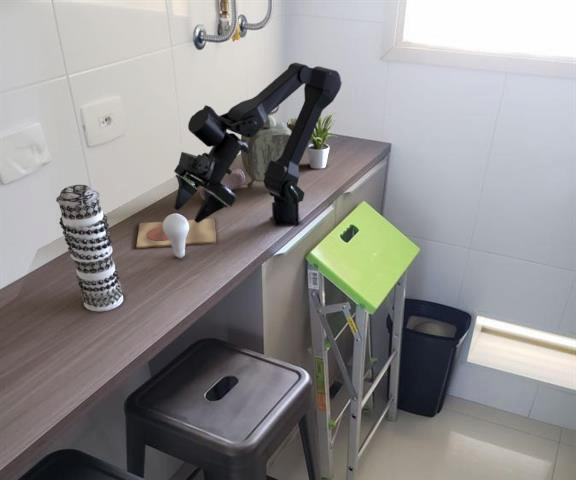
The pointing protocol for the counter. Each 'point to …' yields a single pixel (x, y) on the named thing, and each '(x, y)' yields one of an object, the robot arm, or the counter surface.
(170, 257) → the counter surface
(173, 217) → the lightbulb
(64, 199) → the white patterned tall cylinder
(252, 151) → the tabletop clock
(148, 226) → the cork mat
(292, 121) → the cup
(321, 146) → the house plant
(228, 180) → the coil
